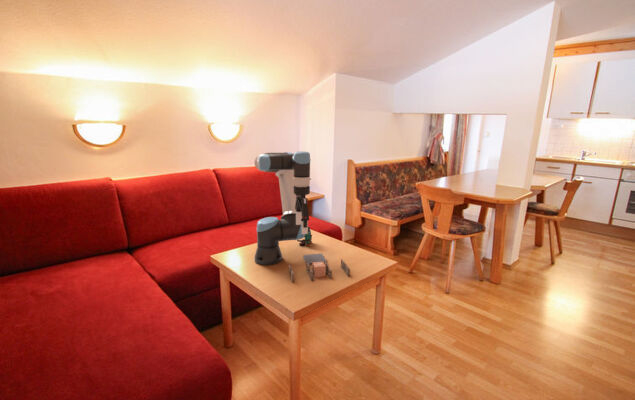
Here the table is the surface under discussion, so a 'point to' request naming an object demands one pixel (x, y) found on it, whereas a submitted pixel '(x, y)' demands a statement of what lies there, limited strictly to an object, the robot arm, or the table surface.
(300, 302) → the table surface
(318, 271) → the letter cube
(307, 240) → the binoculars
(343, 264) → the bay rack
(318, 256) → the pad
